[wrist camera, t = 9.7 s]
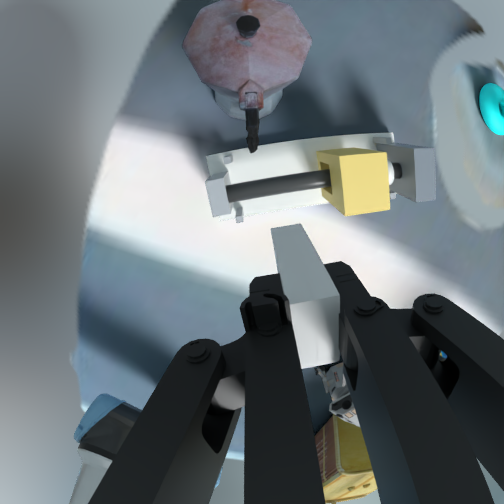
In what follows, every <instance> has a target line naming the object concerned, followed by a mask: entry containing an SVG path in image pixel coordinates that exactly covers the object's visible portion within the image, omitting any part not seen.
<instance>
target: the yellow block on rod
mask: <svg viewBox="0 0 504 504" xmlns="http://www.w3.org/2000/svg"><path fill="white" fill-rule="evenodd" d="M316 155H317V161H318V169H319V170H325V169H330V177H331V185H332V187H325V188H321V192H322V197H324V198H325V199H326V200H327V201H328V202H329V203H331V204H332V205H333V206H334V207H335V208H336V209H337V210H339V211H340V212H341V213H342V214H343V215H344V216H351V215H357V214H364V213H371V212H377V211H384V210H390V193H389V176H388V163H387V152H382V151H376V150H369V149H362V148H355V147H351V148H340V149H330V150H321V151H316Z"/></svg>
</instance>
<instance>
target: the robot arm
mask: <svg viewBox="0 0 504 504" xmlns="http://www.w3.org/2000/svg"><path fill="white" fill-rule="evenodd" d="M271 233H272V239H273V245H274V251H275V258H276V264H277V270H278V274H272V275H266V276H260V277H255V278H254V279H253V281H252V282H251V283H250V296H249V297H248V298H246V299H245V300H244V301H243V302H242V303H241V306H240V312H241V316H242V319H243V323H244V327H245V331H246V333H245V334H244V335H243V336H242V337H241V338H239V339H238V340H236V341H234V342H231V343H229V344H226V345H223V346H220V345H219V344H218V343H217V342H215V341H214V340H210V339H197V340H194V341H191V342H189V343H187V344H186V345H184V346H182V347H181V349H180V350H179V351H178V352H177V354H176V355H175V357H174V358H173V360H172V362H171V363H170V365H169V367H168V368H167V370H166V372H165V373H164V375H163V377H162V378H161V380H160V382H159V383H158V385H157V387H156V388H155V390H154V392H153V393H152V395H151V397H150V398H149V400H148V402H147V403H146V405H145V407H144V408H143V410H141V409H138V408H136V407H134V406H132V405H130V404H128V403H126V401H124V400H119V399H117V398H115V397H113V396H111V395H109V394H101V395H99V396H97V397H96V399H95V400H94V401H93V402H92V404H91V405H90V407H89V408H88V410H87V411H86V413H85V414H84V416H83V418H82V419H81V421H80V424H79V426H78V427H77V429H76V431H75V433H74V439H75V440H76V441H77V442H78V443H80V445H79V447H78V450H77V452H78V454H79V456H80V457H81V460H82V466H81V469H80V472H79V475H78V477H77V480H76V484H75V487H74V490H73V493H72V496H71V500H70V503H69V504H209V501H210V499H211V496H212V493H213V490H214V488H215V487H217V486H218V484H219V483H220V477H221V471H222V465H223V463H224V460H225V457H226V454H227V451H228V448H229V445H230V443H231V440H232V437H233V434H234V431H235V428H236V425H237V422H238V419H239V416H240V412H241V407H243V406H245V448H244V504H326V503H325V497H324V491H323V484H322V478H321V472H320V466H319V460H318V454H317V449H316V443H315V437H314V432H313V426H312V421H311V415H310V410H309V405H308V399H307V394H306V389H305V384H304V379H303V374H302V369H304V368H309V367H315V366H320V365H325V364H329V363H334V362H338V361H339V358H340V353H341V356H342V359H343V374H342V387H343V386H345V385H346V383H347V386H348V389H349V392H350V395H351V398H352V402H353V405H354V408H355V411H356V414H357V418H358V421H359V424H360V428H361V431H362V434H363V438H364V441H365V445H366V448H367V452H368V455H369V459H370V462H371V466H372V470H373V473H374V477H375V481H376V485H377V489H378V493H379V497H380V501H381V504H494V501H493V498H492V496H491V493H490V490H489V488H488V485H487V482H486V480H485V477H484V475H483V473H482V470H481V468H480V465H479V463H478V461H477V459H478V460H479V461H480V463H481V464H482V465H483V466H484V467H485V469H486V470H487V471H488V472H489V473H490V475H491V476H492V477H493V478H494V480H495V481H496V482H497V483H498V484H499V486H500V487H501V488H502V489H503V491H504V340H503V339H502V338H501V337H500V336H498V335H497V334H496V333H494V332H493V331H492V330H490V329H489V328H488V327H486V326H485V325H484V324H482V323H481V322H480V321H478V320H477V319H476V318H474V317H473V316H471V315H470V314H469V313H467V312H466V311H464V310H463V309H461V308H460V307H459V306H457V305H456V304H454V303H453V302H451V301H450V300H448V299H447V298H445V297H443V296H441V295H437V294H425V295H421V296H419V297H418V298H417V299H415V301H414V303H413V308H412V309H390V308H389V307H388V305H387V304H386V303H385V302H384V301H383V300H381V299H379V298H376V297H371V296H370V294H369V293H368V291H367V290H366V289H365V287H364V286H363V284H362V283H361V281H360V280H359V279H358V277H357V275H356V274H355V273H354V271H353V270H352V268H351V267H350V266H349V265H347V264H345V263H343V262H342V261H339V262H334V263H329V264H323V262H322V261H321V259H320V257H319V255H318V253H317V251H316V250H315V248H314V246H313V244H312V242H311V241H310V239H309V237H308V235H307V234H306V232H305V230H304V228H303V227H302V225H301V224H295V225H289V226H283V227H277V228H271ZM441 351H442V352H444V353H445V354H446V355H447V358H444V357H442V356H441V355H440V353H441ZM476 458H477V459H476Z"/></svg>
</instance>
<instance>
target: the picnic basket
mask: <svg viewBox="0 0 504 504" xmlns="http://www.w3.org/2000/svg"><path fill="white" fill-rule="evenodd" d="M314 437H315V443H316V449H317V454H318V460H319V466H320V472H321V478H322V484H323V491H324V497H325V503H332V504H336V502H341V501H347V500H353V499H357V498H362V497H365V496H366V495H368V494H369V493H371V492H373V491H375V490H376V489H377V485H376V481H375V477H374V473H373V470H372V466H371V462H370V459H369V455H368V452H367V448H366V445H365V441H364V438H363V434H362V431H361V428H360V427H358V426H356V425H354V424H352V423H349V422H346V421H344V420H342V419H341V418H339V417H337V416H336V415H335V414H333V416H332V417H331V418H330V419H329V420H328V422H327V423H326V424H325V425H324V426H323V427H322V428H321V430H320V431H319V432H318V433H317V434H316V435H315V436H314Z"/></svg>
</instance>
